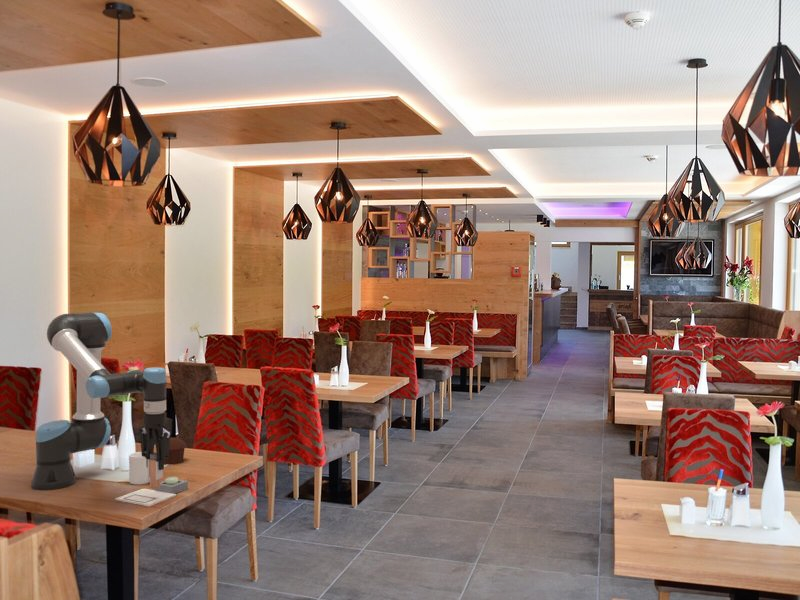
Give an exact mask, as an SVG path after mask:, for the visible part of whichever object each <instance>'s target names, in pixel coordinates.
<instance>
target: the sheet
mask: <svg viewBox="0 0 800 600" xmlns="http://www.w3.org/2000/svg"><path fill="white" fill-rule="evenodd" d="M175 497H177V494H172V493H167V492H161V491H156V489H155V490H154V489H151V488H150V489H148V488H141V489H138V490H135V491H133V492H129V493H127V494H125V495H121V496H119V497H115V501H118V502H123V503H129V504H134V505H138V506H139V505H140V506H145V507H152V506H154V505H158V504H159V503H162V502H164V501H168V500H171V499H172V498H175Z"/></svg>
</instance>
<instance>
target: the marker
mask: <svg viewBox="0 0 800 600" xmlns="http://www.w3.org/2000/svg"><path fill="white" fill-rule="evenodd" d="M156 460H157V452H156V451H154V452H153V453H150V483H149V488H150V489H156V488H159V487H160V482H161V480H160V479H161V478H160V479H158V480H156Z"/></svg>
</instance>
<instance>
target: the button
mask: <svg viewBox="0 0 800 600" xmlns="http://www.w3.org/2000/svg"><path fill="white" fill-rule="evenodd" d="M178 480H179V477H178V476H170V477H169V476H168V477H166V478H165V479H164V481H166V484H167V485H174V484H177V483H178Z"/></svg>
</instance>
